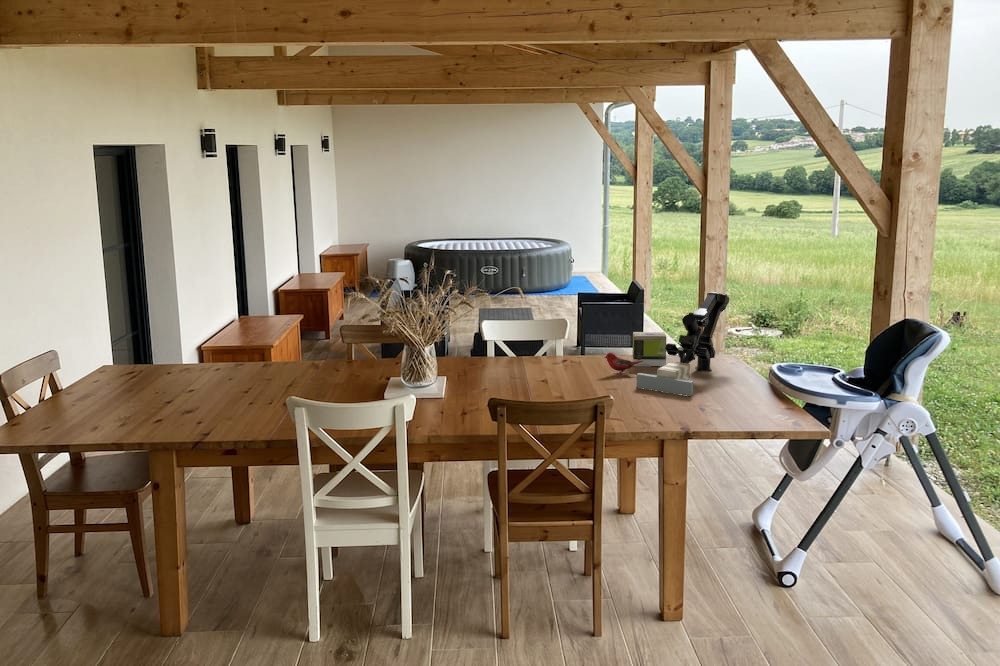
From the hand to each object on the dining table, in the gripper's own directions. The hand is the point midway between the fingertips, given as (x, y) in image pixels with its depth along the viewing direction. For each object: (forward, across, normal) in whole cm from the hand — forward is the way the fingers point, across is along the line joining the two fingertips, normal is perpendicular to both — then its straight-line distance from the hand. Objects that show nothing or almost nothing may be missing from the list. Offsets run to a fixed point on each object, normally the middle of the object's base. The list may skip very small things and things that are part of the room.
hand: (681, 367), depth 376 cm
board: (+17, 0, -8) cm, 19 cm away
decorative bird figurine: (+6, -26, +4) cm, 27 cm away
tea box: (-10, -25, +20) cm, 33 cm away
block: (+11, 0, -1) cm, 11 cm away
